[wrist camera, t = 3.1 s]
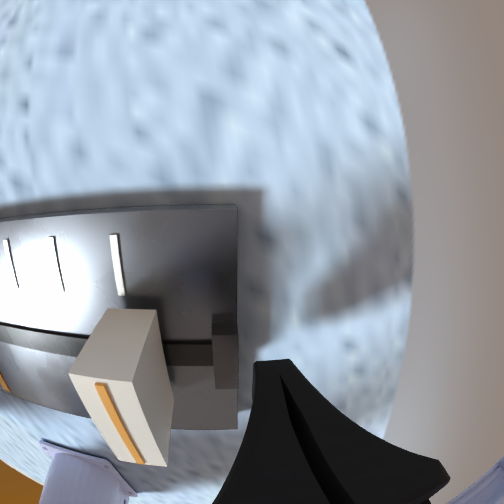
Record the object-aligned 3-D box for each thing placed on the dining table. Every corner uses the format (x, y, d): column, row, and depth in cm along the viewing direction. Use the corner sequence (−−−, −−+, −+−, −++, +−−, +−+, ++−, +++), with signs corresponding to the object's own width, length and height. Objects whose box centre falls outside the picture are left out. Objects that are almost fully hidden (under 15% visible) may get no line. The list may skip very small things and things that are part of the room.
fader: (174, 399, 11) (167, 468, 7) (133, 396, 11) (118, 462, 7) (156, 309, 9) (131, 384, 6) (107, 307, 9) (66, 375, 5)
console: (235, 413, 14) (238, 439, 12) (-32, 364, 11) (-42, 377, 9) (235, 204, 10) (239, 213, 8) (-75, 231, 7) (-91, 238, 6)
